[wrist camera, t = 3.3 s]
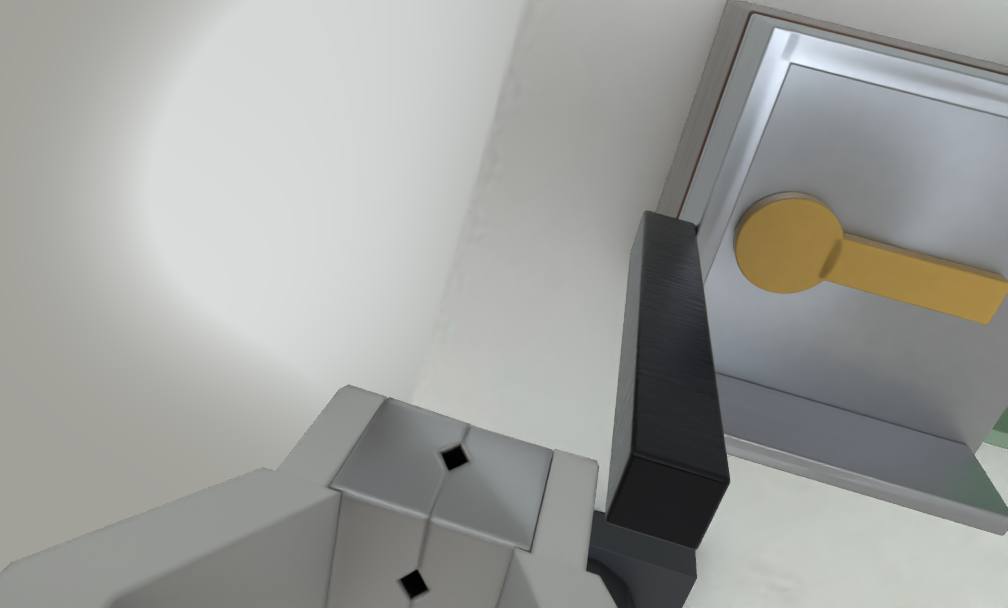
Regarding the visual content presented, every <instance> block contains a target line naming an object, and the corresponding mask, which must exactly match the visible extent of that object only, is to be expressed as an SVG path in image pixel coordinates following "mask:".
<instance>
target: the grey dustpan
mask: <svg viewBox="0 0 1008 608" xmlns="http://www.w3.org/2000/svg"><path fill="white" fill-rule="evenodd" d="M783 192H800V193H805V194H808V195H811V196H814V197H816V198H818V199H820V200H821V201H823V202H824V203H825V204H826V205H827V206H828V207H829V208H830V209H831V210H832V211H833V213H834V214H835V216H836V217H837V219H838V220H839V222H840V224H841V227H842V229H843V232H844V233H848V234H852V235H855V236H859V237H863V238H867V239H870V240H874V241H878V242H881V243H885V244H889V245H893V246H896V247H900V248H904V249H907V250H911V251H915V252H919V253H922V254H926V255H930V256H933V257H937V258H941V259H945V260H948V261H952V262H956V263H959V264H963V265H967V266H971V267H974V268H978V269H982V270H985V271H989V272H993V273H997V274H1000V275H1003V276H1004V277H1005V278H1006V279H1007V280H1008V76H1005V75H1001V74H997V73H993V72H989V71H985V70H981V69H977V68H973V67H969V66H965V65H961V64H956V63H952V62H948V61H944V60H940V59H936V58H932V57H928V56H924V55H920V54H916V53H912V52H908V51H904V50H900V49H896V48H892V47H888V46H884V45H880V44H876V43H872V42H868V41H864V40H860V39H855V38H851V37H847V36H843V35H839V34H835V33H831V32H827V31H823V30H819V29H815V28H811V27H807V26H803V25H799V24H795V23H791V22H787V21H783V20H779V19H775V18H771V17H767V16H763V15H759V14H752V16H751V17H750V20H749V23H748V26H747V29H746V31H745V34H744V37H743V40H742V43H741V45H740V48H739V51H738V54H737V57H736V60H735V62H734V65H733V68H732V71H731V74H730V76H729V79H728V82H727V85H726V88H725V90H724V93H723V96H722V99H721V102H720V104H719V107H718V110H717V113H716V116H715V118H714V121H713V124H712V127H711V130H710V132H709V135H708V138H707V141H706V144H705V146H704V149H703V152H702V155H701V158H700V160H699V163H698V166H697V169H696V172H695V174H694V177H693V180H692V183H691V186H690V188H689V191H688V194H687V197H686V200H685V202H684V205H683V208H682V211H681V214H680V216H679V219H677V218H673V217H669V216H666V215H662V214H658V213H655V212H651V211H645V212H644V214H643V217H642V220H641V223H640V226H639V229H638V232H637V235H636V238H635V241H634V244H633V247H632V250H631V253H630V262H629V272H628V283H627V293H626V304H625V314H624V324H623V335H622V345H621V356H620V366H619V377H618V387H617V397H616V408H615V418H614V429H613V439H612V450H611V460H610V470H609V481H608V491H607V502H606V512H605V519H606V522H607V523H608V524H610V525H614V526H617V527H620V528H623V529H626V530H630V531H633V532H636V533H639V534H643V535H646V536H649V537H652V538H656V539H659V540H662V541H665V542H669V543H672V544H675V545H678V546H682V547H685V548H688V549H691V550H696V549H697V548H698V547H699V545H700V543H701V541H702V539H703V537H704V535H705V533H706V531H707V529H708V527H709V525H710V523H711V521H712V519H713V517H714V515H715V513H716V511H717V509H718V506H719V504H720V502H721V500H722V498H723V496H724V494H725V492H726V490H727V488H728V486H729V484H730V475H729V468H728V461H727V454H728V455H732V456H735V457H738V458H742V459H745V460H749V461H752V462H755V463H759V464H762V465H765V466H769V467H772V468H776V469H779V470H782V471H786V472H789V473H792V474H796V475H799V476H802V477H806V478H809V479H813V480H816V481H819V482H823V483H826V484H829V485H833V486H836V487H839V488H843V489H846V490H850V491H853V492H856V493H860V494H863V495H866V496H870V497H873V498H877V499H880V500H883V501H887V502H890V503H893V504H897V505H900V506H903V507H907V508H910V509H914V510H917V511H920V512H924V513H927V514H930V515H934V516H937V517H940V518H944V519H947V520H951V521H954V522H957V523H961V524H964V525H967V526H971V527H974V528H978V529H981V530H984V531H988V532H991V533H994V534H998V535H1001V536H1003V535H1004V534H1005V533H1006V532H1007V530H1008V507H1007V506H1006V504H1005V503H1004V501H1003V499H1002V498H1001V496H1000V495H999V493H998V492H997V490H996V488H995V487H994V485H993V484H992V482H991V481H990V479H989V477H988V476H987V474H986V473H985V471H984V470H983V468H982V466H981V465H980V463H979V462H978V460H977V459H976V457H975V455H974V454H975V452H976V451H977V450H978V448H979V447H980V445H981V444H982V442H983V441H984V439H985V438H986V437H987V435H988V434H989V432H990V431H991V429H992V428H993V426H994V425H995V424H996V422H997V421H998V419H999V418H1000V416H1001V415H1002V413H1003V412H1004V411H1005V409H1006V408H1007V406H1008V294H1007V295H1006V297H1005V298H1004V300H1003V301H1002V303H1001V305H1000V306H999V308H998V309H997V311H996V313H995V314H994V316H993V317H992V319H991V320H990V322H989V324H988V325H985V324H981V323H977V322H974V321H970V320H967V319H963V318H959V317H956V316H952V315H948V314H945V313H941V312H937V311H934V310H930V309H927V308H923V307H919V306H916V305H912V304H908V303H905V302H901V301H897V300H894V299H890V298H887V297H883V296H879V295H876V294H872V293H868V292H865V291H861V290H857V289H854V288H850V287H847V286H843V285H839V284H836V283H832V282H828V281H825V280H823V281H822V282H821V283H819V284H818V285H816V286H814V287H812V288H810V289H807V290H805V291H801V292H797V293H790V294H780V293H773V292H769V291H766V290H763V289H761V288H759V287H757V286H755V285H754V284H752V283H751V282H750V281H749V280H747V279H746V277H745V276H744V275H743V274H742V272H741V271H740V269H739V267H738V264H737V261H736V257H735V253H734V248H733V238H734V233H735V230H736V227H737V225H738V223H739V221H740V219H741V218H742V216H743V215H744V214H745V212H746V211H747V210H748V209H749V208H750V207H751V206H753V205H754V204H755V203H757V202H758V201H760V200H762V199H764V198H766V197H768V196H771V195H774V194H777V193H783Z"/></svg>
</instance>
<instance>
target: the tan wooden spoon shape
mask: <svg viewBox="0 0 1008 608" xmlns="http://www.w3.org/2000/svg"><path fill="white" fill-rule="evenodd" d="M733 248H734V253H735V257H736V261H737V264H738V267H739V269H740V271H741V272H742V274H743V275H744V276H745V277H746V279H747V280H749V281H750V282H751V283H752V284H754V285H755V286H757V287H759V288H761V289H763V290H766V291H769V292H773V293H780V294H790V293H797V292H801V291H805V290H807V289H810V288H812V287H814V286H816V285H818V284H819V283H821V282H822V281H823V280H825V281H828V282H832V283H836V284H839V285H843V286H847V287H850V288H854V289H857V290H861V291H865V292H868V293H872V294H876V295H879V296H883V297H887V298H890V299H894V300H897V301H901V302H905V303H908V304H912V305H916V306H919V307H923V308H927V309H930V310H934V311H937V312H941V313H945V314H948V315H952V316H956V317H959V318H963V319H967V320H970V321H974V322H977V323H981V324H985V325H988V324H989V322H990V320H991V319H992V317H993V316H994V314H995V313H996V311H997V309H998V308H999V306H1000V305H1001V303H1002V301H1003V300H1004V298H1005V297H1006V295H1007V294H1008V280H1007V279H1006V278H1005V277H1004V276H1003V275H1000V274H997V273H993V272H989V271H985V270H982V269H978V268H974V267H971V266H967V265H963V264H959V263H956V262H952V261H948V260H945V259H941V258H937V257H933V256H930V255H926V254H922V253H919V252H915V251H911V250H907V249H904V248H900V247H896V246H893V245H889V244H885V243H881V242H878V241H874V240H870V239H867V238H863V237H859V236H855V235H852V234H848V233H844V232H843V229H842V227H841V224H840V222H839V220H838V219H837V217H836V216H835V214H834V213H833V211H832V210H831V209H830V208H829V207H828V206H827V205H826V204H825V203H824V202H823V201H821V200H820V199H818V198H816V197H814V196H811V195H808V194H805V193H800V192H783V193H777V194H774V195H771V196H768V197H766V198H764V199H762V200H760V201H758V202H757V203H755V204H754V205H753V206H751V207H750V208H749V209H748V210H747V211H746V212H745V214H744V215H743V216H742V218H741V219H740V221H739V223H738V225H737V227H736V230H735V233H734V238H733Z"/></svg>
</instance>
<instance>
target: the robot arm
mask: <svg viewBox="0 0 1008 608" xmlns="http://www.w3.org/2000/svg"><path fill="white" fill-rule="evenodd" d="M598 471H599V465H598V463H597V460H593V459H590V458H586V457H582V456H579V455H575V454H572V453H568V452H564V451H561V450H557V449H554V451H553V450H552V449H549V448H545V447H542V446H539V445H536V444H532V443H529V442H526V441H522V440H519V439H516V438H512V437H509V436H506V435H503V434H499V433H496V432H493V431H489V430H486V429H483V428H479V427H476V426H473V425H470V424H468V423H465V422H462V421H459V420H456V419H453V418H450V417H447V416H444V415H441V414H438V413H435V412H432V411H429V410H426V409H423V408H420V407H417V406H414V405H411V404H408V403H405V402H402V401H399V400H396V399H393V398H387V397H385V396H383V395H380V394H377V393H373V392H370V391H367V390H364V389H361V388H358V387H355V386H351V385H347V386H345V387H343V388H341V389H339V390H338V392H337V393H336V394H335V395H334V397H333V398H332V399H331V400H330V402H329V403H328V404H327V406H326V407H325V408H324V410H323V411H322V412H321V413H320V415H319V416H318V417H317V419H316V420H315V421H314V422H313V424H312V425H311V426H310V428H309V429H308V430H307V432H306V433H305V434H304V435H303V437H302V438H301V439H300V441H299V442H298V443H297V445H296V446H295V447H294V448H293V450H292V451H291V452H290V453H289V455H288V456H287V457H286V459H285V460H284V461H283V463H282V464H281V465H280V467H279V468H278V469H277V470H276V471H273V470H270V469H267V468H263V467H262V468H259V469H257V470H254V471H252V472H249V473H246V474H244V475H241V476H239V477H236V478H233V479H230V480H228V481H225V482H223V483H220V484H217V485H215V486H212V487H209V488H207V489H204V490H201V491H199V492H196V493H193V494H191V495H188V496H185V497H183V498H180V499H178V500H175V501H172V502H170V503H167V504H164V505H162V506H159V507H156V508H154V509H151V510H148V511H146V512H143V513H141V514H138V515H135V516H133V517H130V518H127V519H125V520H122V521H119V522H117V523H114V524H112V525H109V526H106V527H104V528H101V529H98V530H96V531H93V532H91V533H88V534H85V535H83V536H80V537H77V538H75V539H72V540H69V541H67V542H64V543H61V544H59V545H56V546H54V547H51V548H48V549H46V550H43V551H40V552H38V553H35V554H32V555H30V556H27V557H24V558H22V559H19V560H17V561H14V562H11V564H9V565H8V566H7V567H6V568H5V569H4V570H3V571H2V572H0V608H618V607H617V606H616V604H615V602H614V600H613V598H612V597H611V595H610V593H609V591H608V590H607V588H606V586H605V584H604V582H603V581H602V579H601V577H600V576H599V575H596V574H593V573H590V572H587V571H586V566H587V558H588V550H589V543H590V535H591V527H592V519H593V511H594V503H595V495H596V487H597V479H598Z"/></svg>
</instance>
